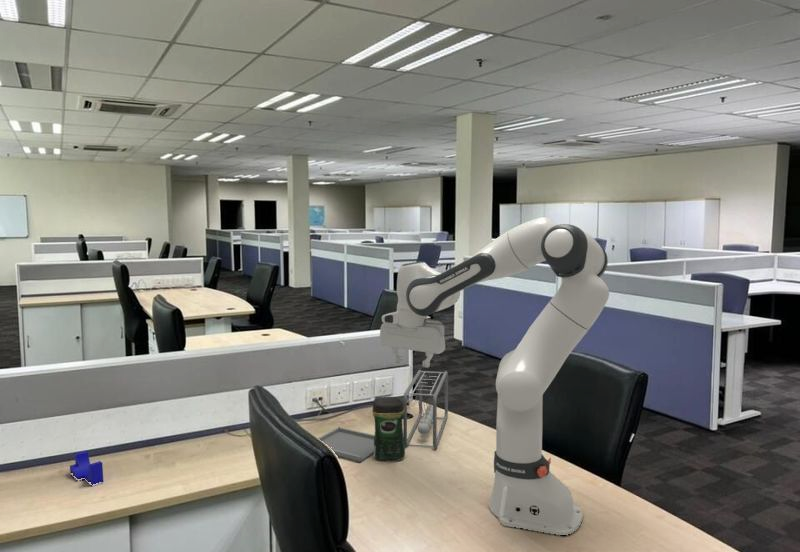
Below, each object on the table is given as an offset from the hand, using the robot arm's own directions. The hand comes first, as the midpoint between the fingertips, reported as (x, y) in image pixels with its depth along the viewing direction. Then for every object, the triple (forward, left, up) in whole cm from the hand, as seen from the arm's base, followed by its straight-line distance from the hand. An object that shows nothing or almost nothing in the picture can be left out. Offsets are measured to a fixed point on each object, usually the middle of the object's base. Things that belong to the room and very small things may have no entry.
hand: (411, 364), depth 166 cm
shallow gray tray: (+23, 0, -30) cm, 38 cm away
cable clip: (+74, +55, -30) cm, 97 cm away
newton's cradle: (+7, -23, -30) cm, 38 cm away
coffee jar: (+8, 0, -30) cm, 31 cm away
